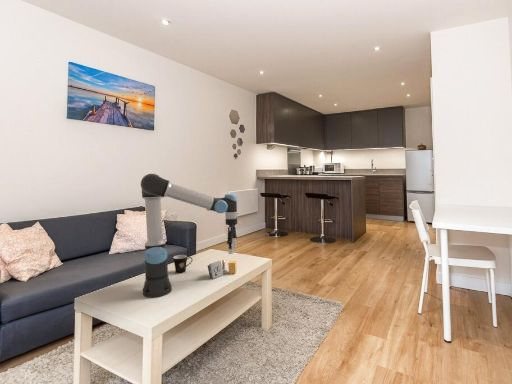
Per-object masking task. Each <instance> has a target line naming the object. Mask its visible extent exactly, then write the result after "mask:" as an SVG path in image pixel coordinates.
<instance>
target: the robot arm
mask: <svg viewBox="0 0 512 384" xmlns="http://www.w3.org/2000/svg"><path fill="white" fill-rule="evenodd" d="M140 187H141V198H142V199H143V200H144V202H145V203H144V204H145V220H146V221H145V223H146V239H147V240H146V242H145V243H144V256H143V259H144V273H145V274H144V276H145V277H144V278H145V280H144V284H143V286H142V296H144V297H145V298H146V297H147V298H158V297H163V296H166V295H168V294H170V293H171V292H172V291H173V289H172V288H173V286H172V283H171V281H170V278H169V272H168V271H169V270H168V265H169V264H168V251H167V243H166V240H164V238H163V237H164V236H163V235H164V234H163V220H162V218H163V216H162V202H161V201H162V199H163V198H166V197H167V198H169V199H170V198H171V199H174V200H177V201H180V202H183V203H187V204H190V205H193V206H197V207H199V208H202V209H205V210H207V211H213V212H216V213H217V214H224V215H225V216H224V217H225V225H226V226H228V227H227V241H226V244H227V247H228V248H227V251H228V252H227V253H228V255H233V254H234V249H236V248H237V238H238V236H237V231H236V225H237V224H238V214H239V212H238V200H237V199H238V198H237V195H236V194H235V193H226V194H225V195H224V197H213V196H210V195H207V194H204V193H201V192H199V191H196V190H193V189H189V188H186V187H183V186H181V185H178V184H174V183H171V180H167V179H165V178H163V177H161V176H160V175H159V174H156V173H148V174H146V175H144V176H143V177H142V179H141V180H140Z"/></svg>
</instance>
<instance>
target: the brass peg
mask: <svg viewBox="0 0 512 384" xmlns="http://www.w3.org/2000/svg"><path fill="white" fill-rule="evenodd" d="M221 264H222V268H223V269H225V268H226V260H224V259H223V260H222V261H221Z"/></svg>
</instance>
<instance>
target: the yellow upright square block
mask: <svg viewBox="0 0 512 384" xmlns="http://www.w3.org/2000/svg"><path fill="white" fill-rule="evenodd" d="M227 266H228V267H227V268H228V274H229V275H235V274H237V260H229V261H228V265H227Z"/></svg>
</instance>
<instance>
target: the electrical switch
mask: <svg viewBox="0 0 512 384" xmlns="http://www.w3.org/2000/svg"><path fill="white" fill-rule="evenodd" d="M207 269H208V275H209V278H210V279H212V280H215V279H217V278H219V277H222V276H224V275H225V272H223V268H222V261H221V260H217V261H214V262H211V263H209V264H208V265H207Z"/></svg>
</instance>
